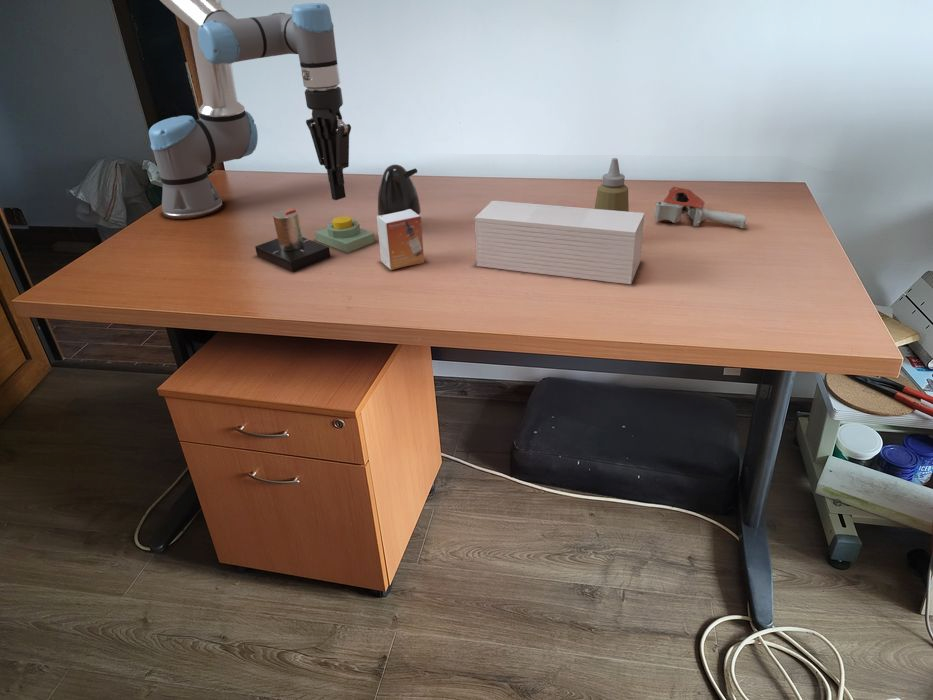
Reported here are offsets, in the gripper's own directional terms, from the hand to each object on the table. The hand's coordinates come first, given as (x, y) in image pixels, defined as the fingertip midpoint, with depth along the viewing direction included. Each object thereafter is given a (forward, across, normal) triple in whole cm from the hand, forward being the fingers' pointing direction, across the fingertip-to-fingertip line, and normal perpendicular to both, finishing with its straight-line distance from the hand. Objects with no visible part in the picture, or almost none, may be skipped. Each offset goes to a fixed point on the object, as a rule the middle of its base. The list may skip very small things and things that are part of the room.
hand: (338, 198), depth 151 cm
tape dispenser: (+11, +57, +58) cm, 82 cm away
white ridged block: (+11, +47, +19) cm, 52 cm away
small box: (+11, +20, 0) cm, 23 cm away
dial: (+8, -2, -13) cm, 15 cm away
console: (+10, -2, -13) cm, 17 cm away
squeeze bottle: (+11, +48, +37) cm, 62 cm away
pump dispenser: (+11, +4, +14) cm, 18 cm away
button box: (+10, 0, 0) cm, 10 cm away
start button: (+7, 0, 0) cm, 7 cm away
